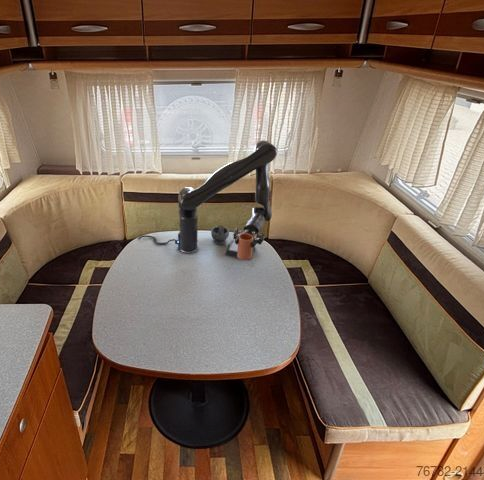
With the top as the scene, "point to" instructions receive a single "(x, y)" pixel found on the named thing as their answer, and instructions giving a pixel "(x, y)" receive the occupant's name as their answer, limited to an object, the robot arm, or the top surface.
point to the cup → (244, 246)
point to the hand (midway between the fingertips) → (244, 244)
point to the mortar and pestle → (219, 234)
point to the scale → (233, 249)
